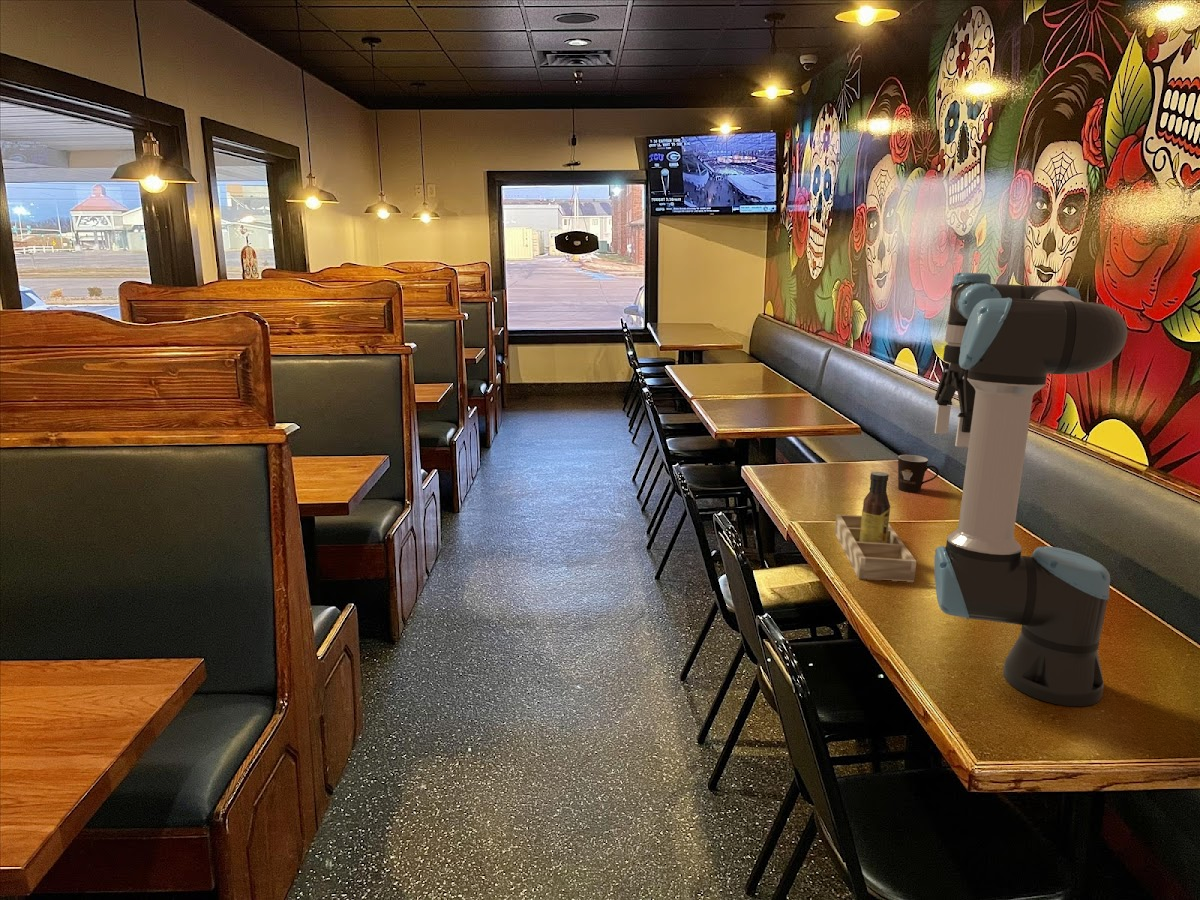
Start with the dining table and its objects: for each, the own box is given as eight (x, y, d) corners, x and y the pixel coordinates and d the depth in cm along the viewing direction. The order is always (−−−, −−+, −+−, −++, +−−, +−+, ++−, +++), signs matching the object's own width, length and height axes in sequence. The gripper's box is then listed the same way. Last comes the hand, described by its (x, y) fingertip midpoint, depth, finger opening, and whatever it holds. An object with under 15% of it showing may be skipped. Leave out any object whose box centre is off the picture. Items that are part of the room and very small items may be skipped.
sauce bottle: (886, 559, 198) (895, 478, 194) (858, 556, 200) (867, 476, 195) (883, 549, 205) (892, 471, 200) (856, 547, 206) (865, 469, 201)
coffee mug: (888, 487, 260) (892, 456, 258) (909, 484, 264) (913, 453, 261) (916, 497, 250) (920, 465, 248) (938, 494, 254) (942, 463, 251)
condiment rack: (913, 582, 187) (916, 561, 185) (858, 579, 188) (861, 558, 186) (881, 535, 217) (884, 517, 215) (834, 532, 218) (836, 514, 216)
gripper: (1004, 352, 171) (990, 453, 176) (960, 339, 195) (948, 429, 200) (966, 350, 171) (953, 451, 176) (927, 338, 196) (916, 427, 200)
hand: (951, 439), depth 188 cm, fingers open, 13 cm apart
